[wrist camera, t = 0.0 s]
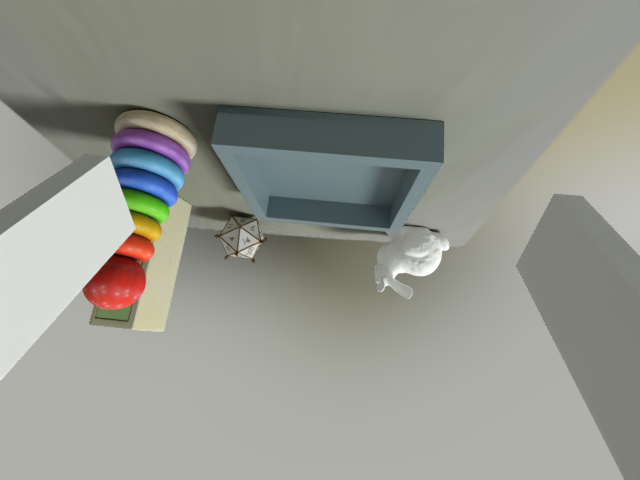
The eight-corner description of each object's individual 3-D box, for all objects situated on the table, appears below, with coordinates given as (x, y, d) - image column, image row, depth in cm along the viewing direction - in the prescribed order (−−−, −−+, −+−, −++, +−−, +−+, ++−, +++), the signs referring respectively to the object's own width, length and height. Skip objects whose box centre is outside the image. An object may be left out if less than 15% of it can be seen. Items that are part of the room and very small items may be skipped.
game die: (243, 192, 60) (230, 224, 52) (281, 220, 64) (273, 255, 56) (215, 222, 64) (198, 256, 56) (251, 247, 68) (240, 283, 60)
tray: (219, 104, 31) (210, 144, 30) (444, 121, 30) (443, 162, 29) (261, 194, 50) (257, 219, 49) (399, 206, 49) (398, 232, 48)
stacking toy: (212, 135, 36) (172, 316, 31) (179, 156, 42) (141, 313, 37) (133, 94, 31) (69, 304, 26) (107, 124, 36) (51, 303, 31)
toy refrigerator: (164, 186, 52) (128, 330, 46) (193, 205, 58) (165, 332, 53) (121, 187, 54) (82, 324, 48) (155, 205, 61) (124, 327, 55)
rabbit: (379, 236, 65) (374, 301, 61) (372, 219, 56) (366, 293, 53) (447, 238, 61) (447, 306, 58) (451, 220, 52) (451, 299, 49)
